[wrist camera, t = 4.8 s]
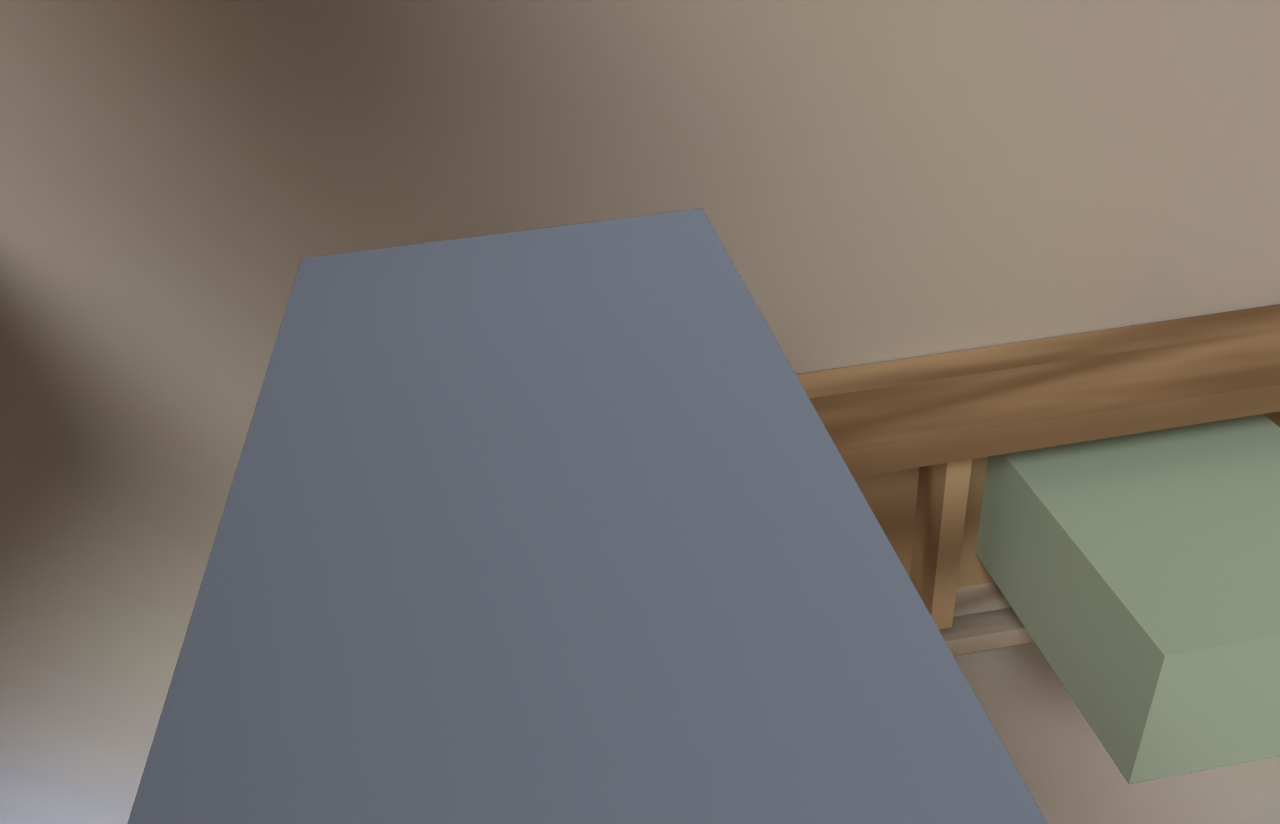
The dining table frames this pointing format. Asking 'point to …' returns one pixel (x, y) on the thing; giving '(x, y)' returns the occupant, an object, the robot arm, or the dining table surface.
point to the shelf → (1023, 432)
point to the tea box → (556, 566)
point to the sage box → (1151, 586)
